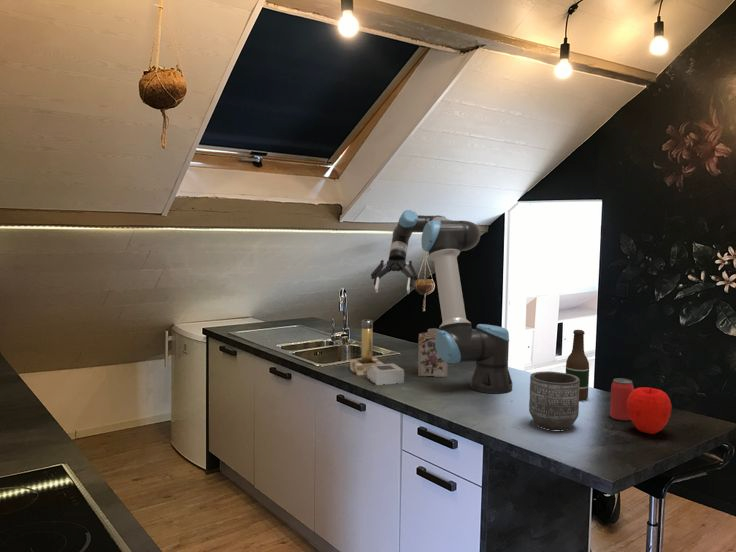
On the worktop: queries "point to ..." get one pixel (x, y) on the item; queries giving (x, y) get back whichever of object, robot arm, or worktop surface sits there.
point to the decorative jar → (430, 356)
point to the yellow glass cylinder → (367, 341)
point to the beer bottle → (579, 364)
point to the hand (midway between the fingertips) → (391, 291)
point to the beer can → (620, 398)
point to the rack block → (362, 365)
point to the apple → (649, 409)
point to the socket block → (385, 374)
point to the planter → (554, 399)
